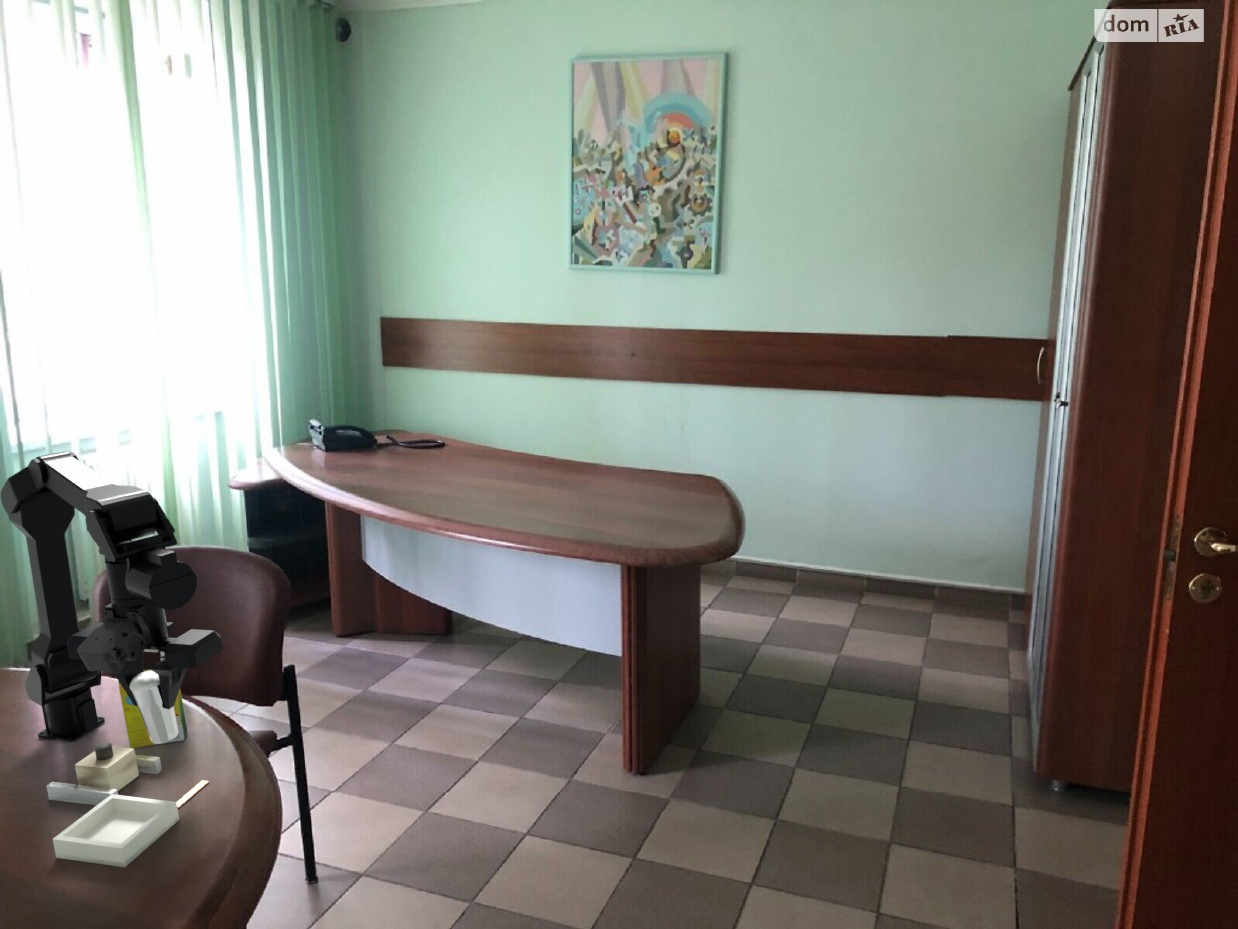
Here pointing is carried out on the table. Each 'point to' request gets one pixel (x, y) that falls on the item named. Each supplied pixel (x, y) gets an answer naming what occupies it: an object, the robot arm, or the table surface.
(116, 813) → the tray
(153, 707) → the milkshake
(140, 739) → the crayon box
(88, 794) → the slide rails
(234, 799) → the table surface
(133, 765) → the slider
